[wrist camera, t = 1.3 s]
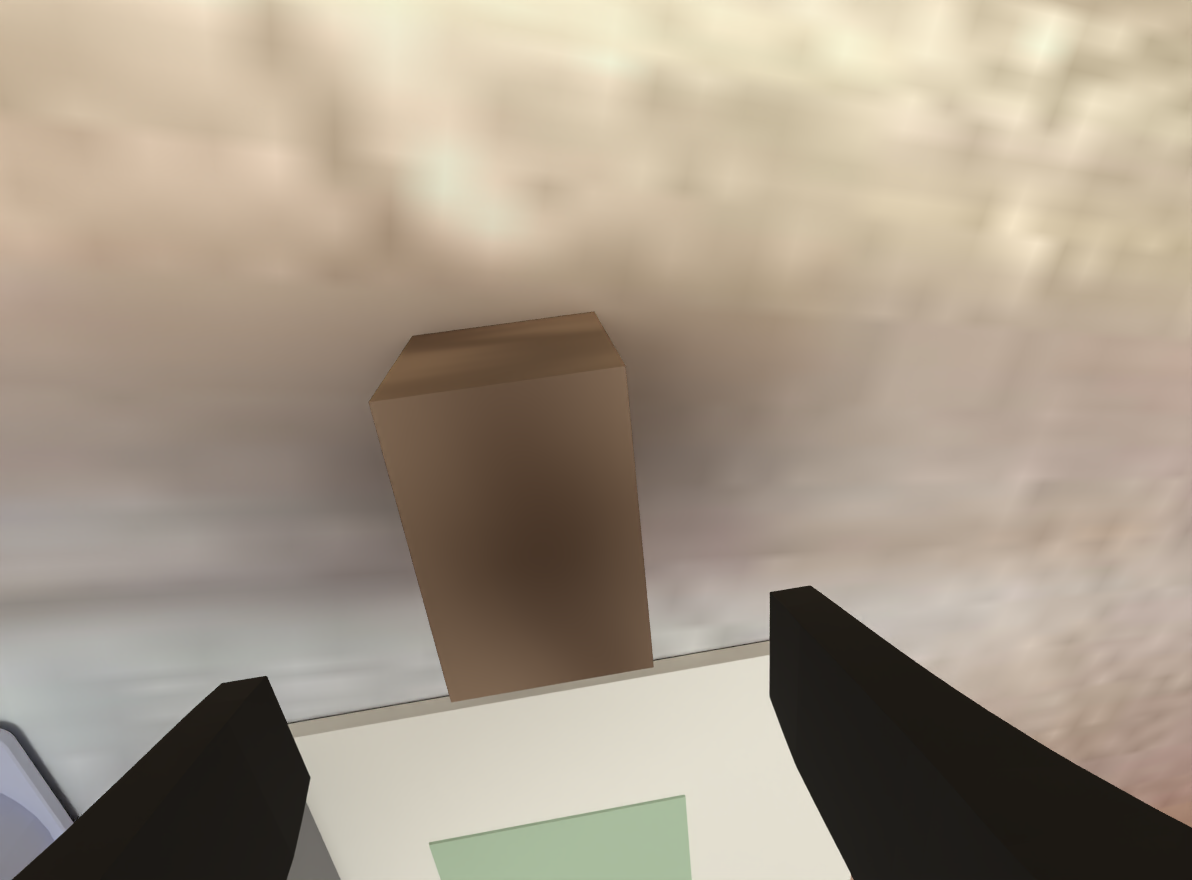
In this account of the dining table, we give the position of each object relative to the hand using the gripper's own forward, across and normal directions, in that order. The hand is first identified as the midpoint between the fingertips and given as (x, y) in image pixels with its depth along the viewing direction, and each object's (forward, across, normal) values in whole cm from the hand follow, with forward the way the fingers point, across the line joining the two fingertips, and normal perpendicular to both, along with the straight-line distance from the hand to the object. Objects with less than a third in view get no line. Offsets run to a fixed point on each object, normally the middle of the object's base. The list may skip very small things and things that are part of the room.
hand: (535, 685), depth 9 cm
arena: (+8, 0, +18) cm, 20 cm away
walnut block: (+8, 0, 0) cm, 9 cm away
